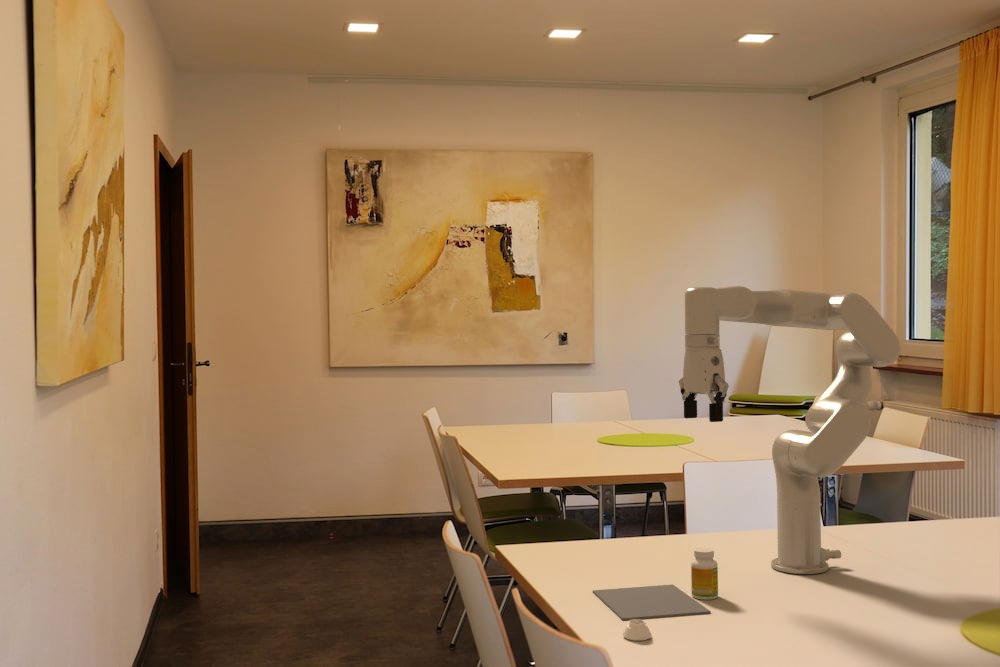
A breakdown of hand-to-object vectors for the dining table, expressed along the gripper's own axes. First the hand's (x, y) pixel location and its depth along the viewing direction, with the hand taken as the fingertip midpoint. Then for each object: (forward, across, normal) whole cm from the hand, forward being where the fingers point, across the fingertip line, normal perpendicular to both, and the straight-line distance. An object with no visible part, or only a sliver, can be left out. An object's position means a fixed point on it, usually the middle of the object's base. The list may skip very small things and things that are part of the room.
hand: (703, 419), depth 212 cm
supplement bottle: (+36, -12, +8) cm, 38 cm away
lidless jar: (+36, -28, +34) cm, 57 cm away
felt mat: (+35, -11, +21) cm, 42 cm away
